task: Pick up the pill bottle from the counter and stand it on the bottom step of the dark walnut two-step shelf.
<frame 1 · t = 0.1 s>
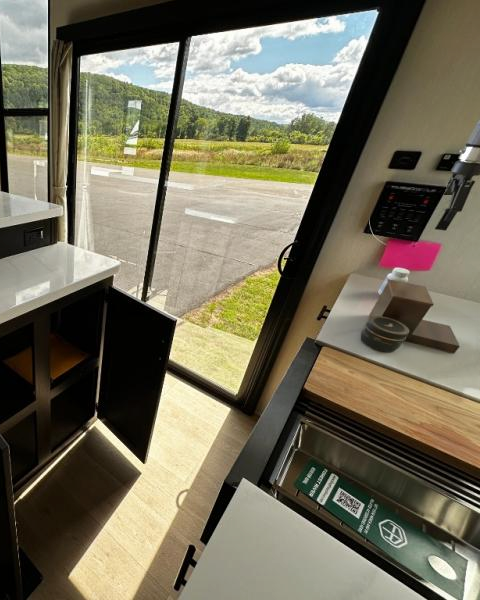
hand: (435, 223, 115), 27 cm above the countertop, tool pointing down, fingers open, 13 cm apart
jar: (377, 343, 103), on the countertop
pill bottle: (387, 295, 126), on the countertop
step shelf: (408, 332, 107), on the countertop
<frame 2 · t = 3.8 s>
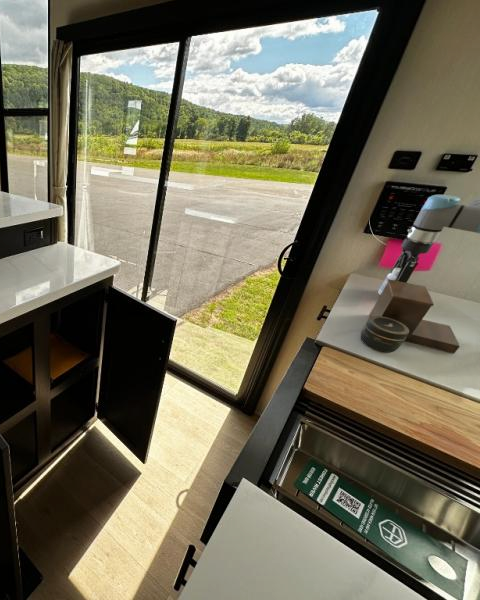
hand: (387, 294, 126), 0 cm above the countertop, tool pointing down, fingers closed on pill bottle, 6 cm apart
pill bottle: (387, 295, 126), on the countertop, touching gripper
everything else where it was.
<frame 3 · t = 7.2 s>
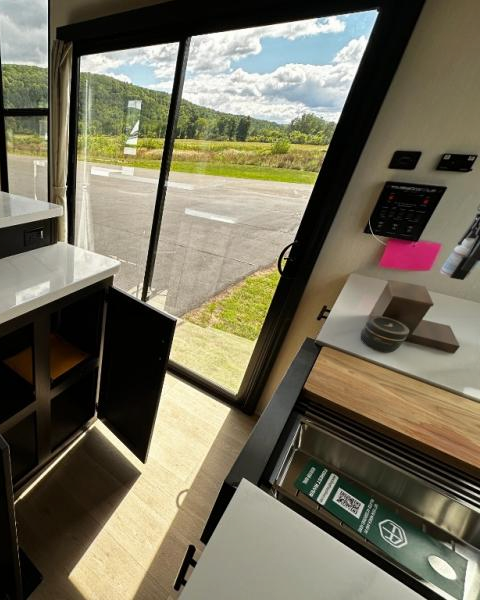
hand: (453, 273, 97), 21 cm above the countertop, tool pointing down, fingers closed on pill bottle, 6 cm apart
pill bottle: (452, 275, 98), point 20 cm above the countertop, touching gripper
everything else where it was.
when the fingers open (3 cm above the countertop, at t = 10.7 s): pill bottle stays where it is, resting on step shelf.
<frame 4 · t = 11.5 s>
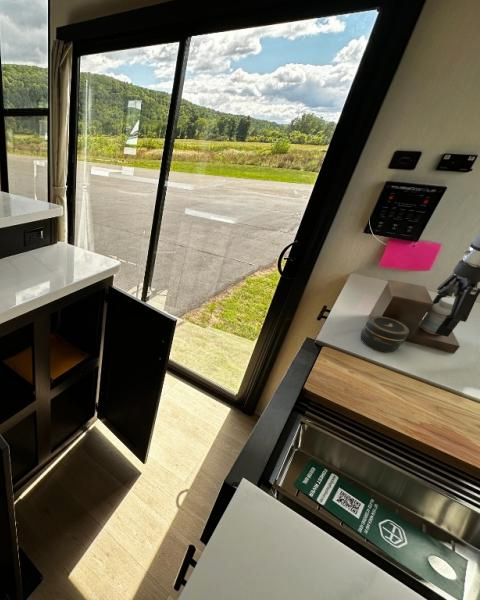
hand: (436, 323, 101), 6 cm above the countertop, tool pointing down, fingers open, 13 cm apart
pill bottle: (430, 330, 103), point 3 cm above the countertop, touching step shelf
everything else where it was.
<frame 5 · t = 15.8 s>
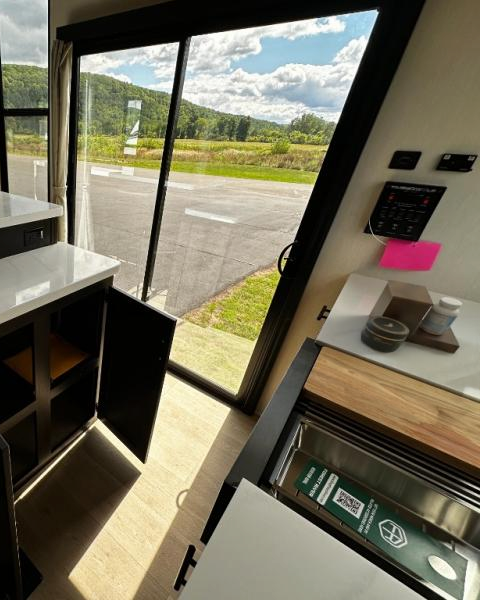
nothing on the countertop moved.
at the end: pill bottle inside the target area on the step shelf (0.2 cm from its centre), point 2.8 cm above the step shelf's base; pill bottle tilted 0°; the gripper is holding nothing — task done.
